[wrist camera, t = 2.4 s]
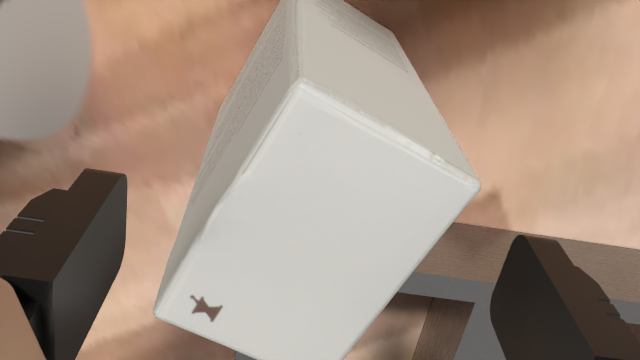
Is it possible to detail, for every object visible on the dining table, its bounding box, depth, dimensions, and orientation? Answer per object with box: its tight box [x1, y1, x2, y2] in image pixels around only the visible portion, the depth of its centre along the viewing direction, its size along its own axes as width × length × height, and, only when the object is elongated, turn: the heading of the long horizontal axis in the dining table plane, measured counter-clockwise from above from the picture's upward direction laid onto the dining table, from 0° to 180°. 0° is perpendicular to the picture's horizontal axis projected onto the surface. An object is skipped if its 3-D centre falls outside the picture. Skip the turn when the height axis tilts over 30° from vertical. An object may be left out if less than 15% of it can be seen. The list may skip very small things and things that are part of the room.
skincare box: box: [153, 0, 481, 360], centre depth 17 cm, size 6×4×12 cm
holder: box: [235, 222, 640, 360], centre depth 26 cm, size 20×10×4 cm, turn 80°
